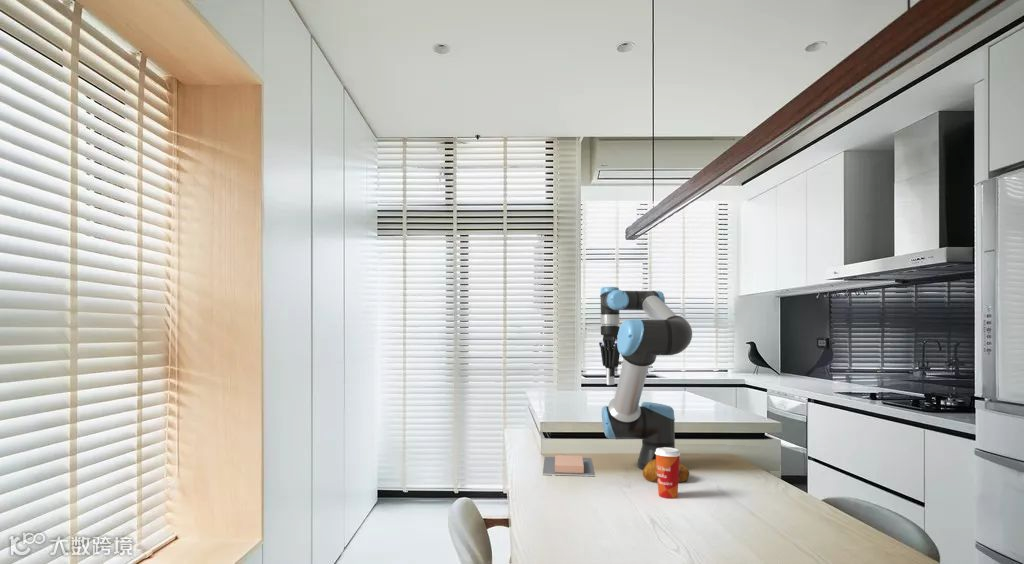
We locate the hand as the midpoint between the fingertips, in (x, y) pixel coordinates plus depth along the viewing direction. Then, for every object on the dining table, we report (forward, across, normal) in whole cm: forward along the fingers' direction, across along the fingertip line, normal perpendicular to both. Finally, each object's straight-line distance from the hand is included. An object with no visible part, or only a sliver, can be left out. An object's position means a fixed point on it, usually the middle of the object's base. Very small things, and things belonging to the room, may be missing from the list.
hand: (610, 384), depth 236 cm
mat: (+28, -8, +24) cm, 38 cm away
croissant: (+29, -35, +2) cm, 45 cm away
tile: (+26, -4, +22) cm, 34 cm away
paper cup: (+29, -52, +14) cm, 61 cm away
